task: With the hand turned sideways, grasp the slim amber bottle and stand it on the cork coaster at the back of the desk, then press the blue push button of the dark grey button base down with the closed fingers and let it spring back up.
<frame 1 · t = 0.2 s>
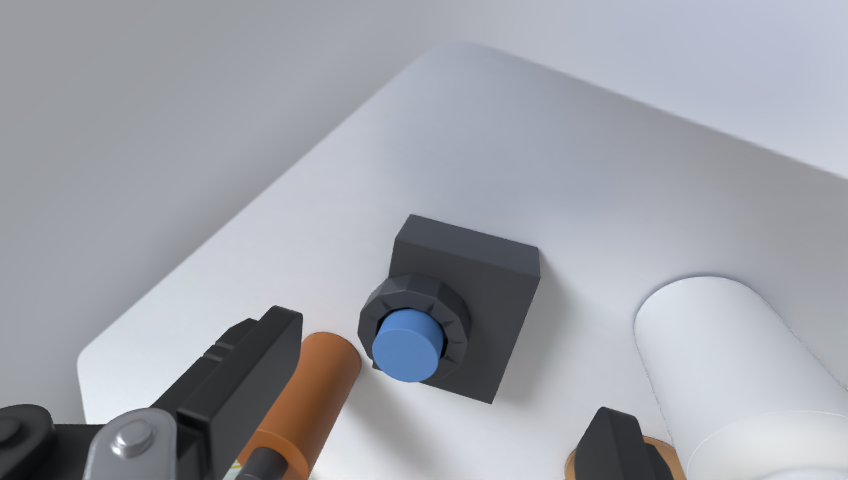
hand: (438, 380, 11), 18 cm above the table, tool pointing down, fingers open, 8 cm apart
bottle: (330, 357, 36), on the table
blue push button: (408, 345, 25), point 7 cm above the table, slide at 0.1 cm
dark grey button base: (455, 294, 31), on the table
coaster: (626, 475, 35), on the table
pill bottle: (694, 322, 28), on the table
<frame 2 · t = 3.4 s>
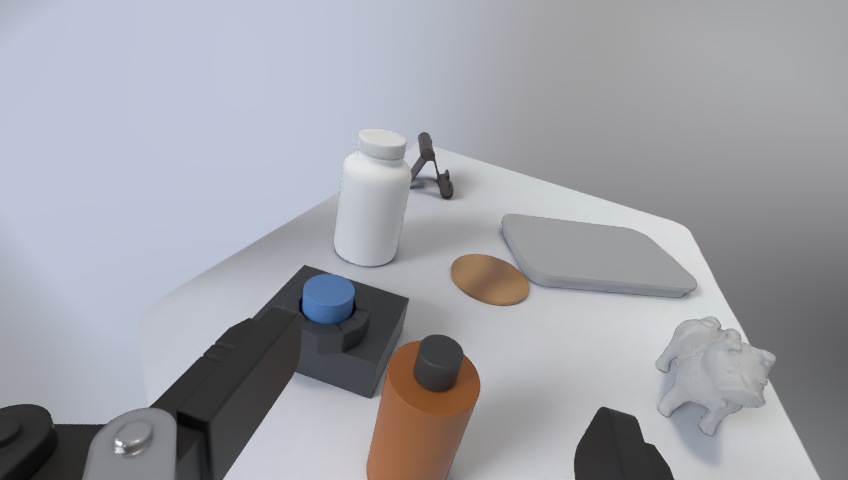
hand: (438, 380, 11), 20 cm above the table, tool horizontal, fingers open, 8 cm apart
bottle: (405, 469, 29), on the table
grey animal figurine: (683, 405, 40), on the table
tablet: (588, 261, 62), on the table
blue push button: (328, 298, 33), point 7 cm above the table, slide at 0.1 cm
dark grey button base: (332, 341, 38), on the table
coaster: (489, 279, 52), on the table
tablet stand: (427, 187, 74), on the table
pill bottle: (365, 251, 52), on the table
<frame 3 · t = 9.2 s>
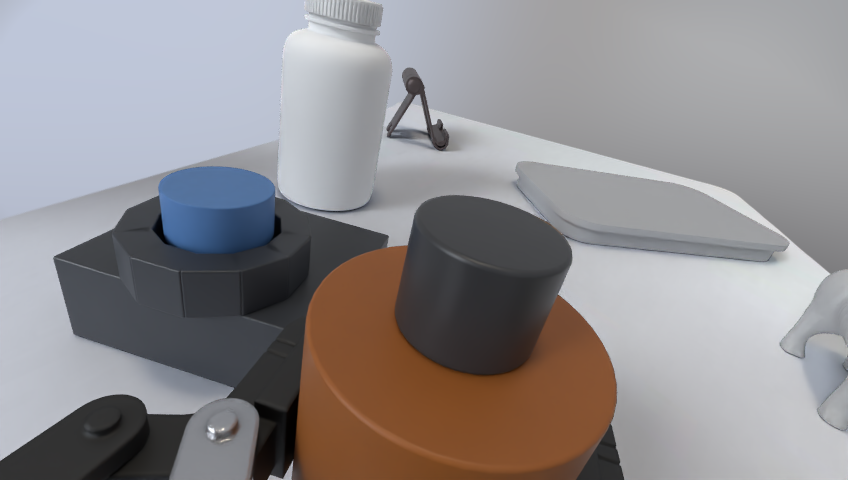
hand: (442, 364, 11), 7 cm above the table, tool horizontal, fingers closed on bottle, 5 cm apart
tablet: (634, 219, 46), on the table
blue push button: (220, 209, 16), point 7 cm above the table, slide at 0.1 cm
dark grey button base: (250, 310, 21), on the table
tablet stand: (414, 139, 57), on the table
pill bottle: (326, 195, 36), on the table
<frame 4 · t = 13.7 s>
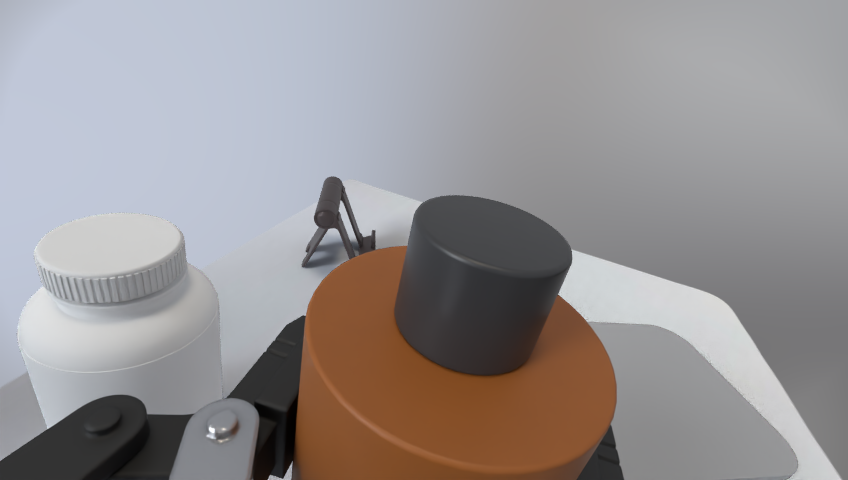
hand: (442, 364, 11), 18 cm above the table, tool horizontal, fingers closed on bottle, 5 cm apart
tablet: (598, 405, 36), on the table
tablet stand: (339, 262, 47), on the table
pill bottle: (153, 450, 25), on the table
when the fingers open (7 cm above the table, at t = 18.3 s): bottle stays where it is, resting on coaster.
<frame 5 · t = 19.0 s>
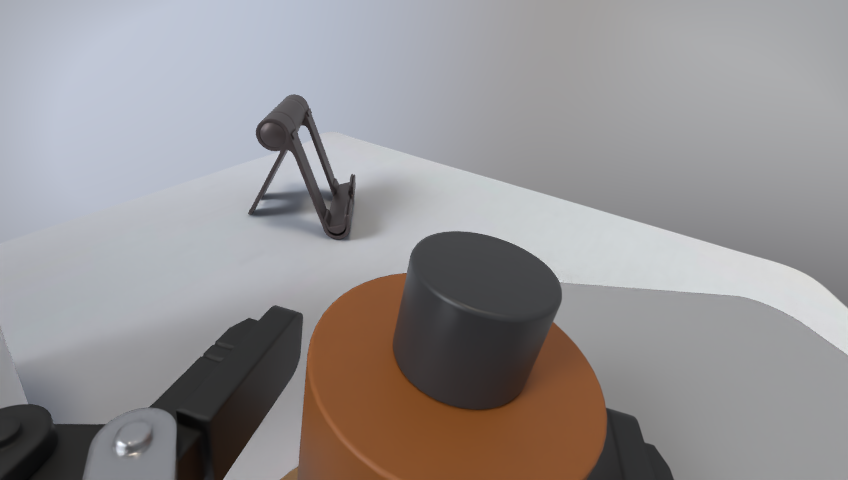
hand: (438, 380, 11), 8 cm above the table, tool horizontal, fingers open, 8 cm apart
tablet: (687, 409, 23), on the table
tablet stand: (303, 213, 34), on the table
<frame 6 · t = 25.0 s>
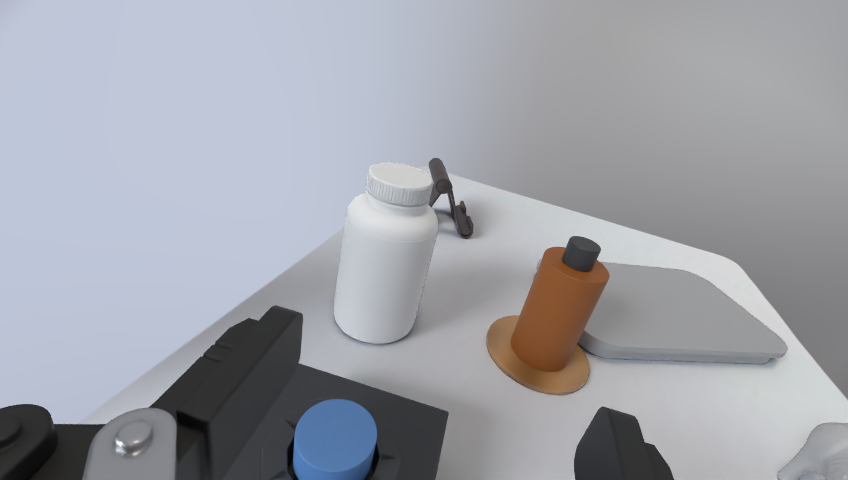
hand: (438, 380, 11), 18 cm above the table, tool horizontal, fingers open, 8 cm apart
bottle: (538, 349, 40), resting on coaster
tablet: (645, 316, 50), on the table
blue push button: (335, 445, 21), point 7 cm above the table, slide at 0.1 cm
coaster: (536, 352, 40), on the table
tablet stand: (440, 223, 62), on the table
pill bottle: (374, 319, 40), on the table
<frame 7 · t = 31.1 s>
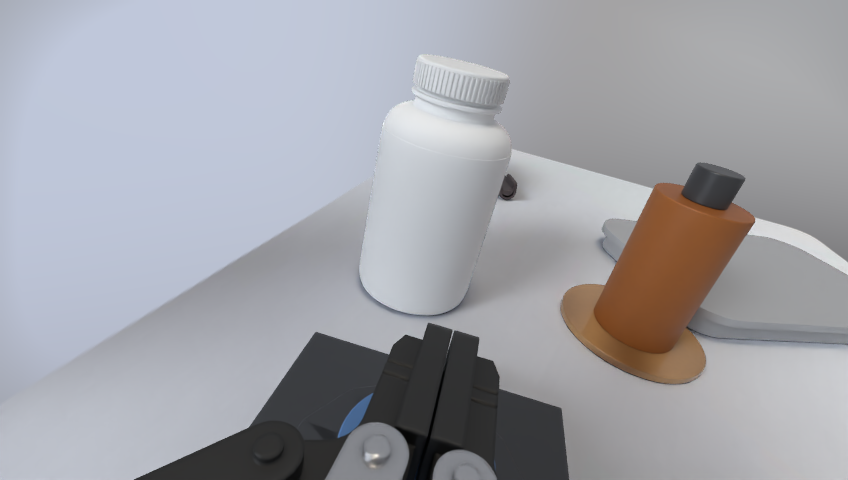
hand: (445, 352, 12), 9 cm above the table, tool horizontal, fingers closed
bottle: (632, 325, 30), resting on coaster
tablet: (740, 289, 40), on the table
blue push button: (410, 473, 11), point 7 cm above the table, slide at 0.1 cm, touching gripper
coaster: (627, 329, 30), on the table
tablet stand: (473, 184, 52), on the table
pill bottle: (412, 285, 30), on the table
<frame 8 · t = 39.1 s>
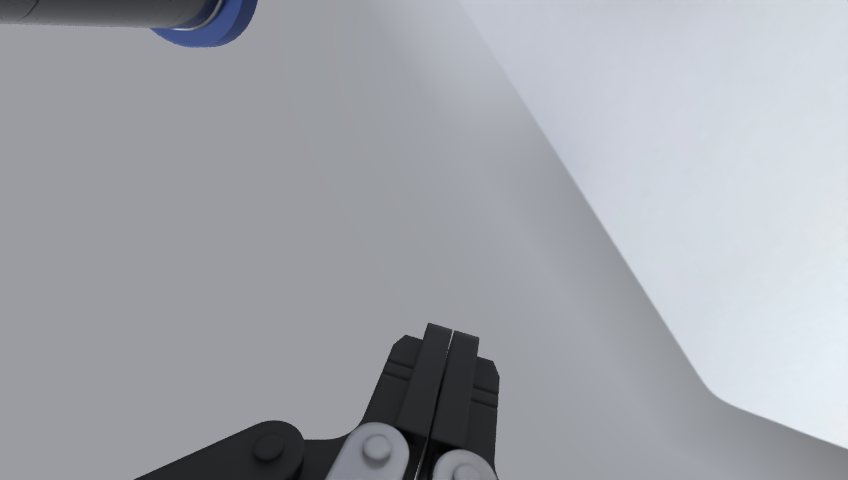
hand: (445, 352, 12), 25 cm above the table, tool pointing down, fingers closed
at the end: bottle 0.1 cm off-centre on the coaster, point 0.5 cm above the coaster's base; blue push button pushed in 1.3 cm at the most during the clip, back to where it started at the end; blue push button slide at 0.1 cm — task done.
